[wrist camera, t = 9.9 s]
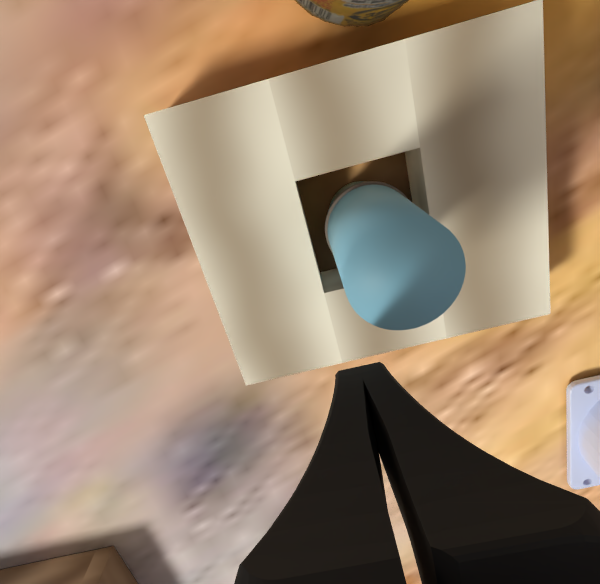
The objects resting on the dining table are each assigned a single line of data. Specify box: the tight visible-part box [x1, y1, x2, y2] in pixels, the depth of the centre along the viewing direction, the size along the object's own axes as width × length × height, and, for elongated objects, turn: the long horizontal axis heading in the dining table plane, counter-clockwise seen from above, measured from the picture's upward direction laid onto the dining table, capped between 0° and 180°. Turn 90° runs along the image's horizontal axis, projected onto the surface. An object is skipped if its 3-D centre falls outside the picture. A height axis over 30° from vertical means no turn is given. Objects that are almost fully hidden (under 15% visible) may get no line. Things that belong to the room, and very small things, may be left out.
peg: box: [325, 181, 466, 330], centre depth 15 cm, size 4×4×8 cm
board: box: [144, 0, 550, 385], centre depth 18 cm, size 14×12×2 cm
